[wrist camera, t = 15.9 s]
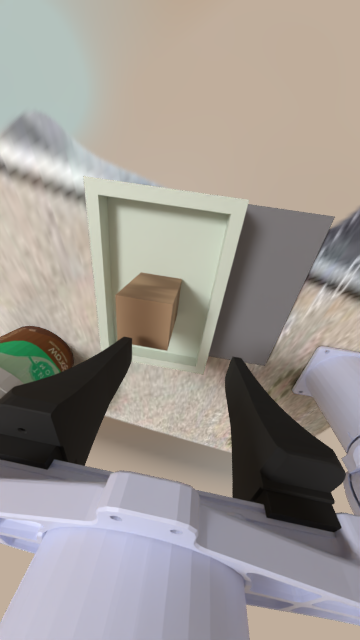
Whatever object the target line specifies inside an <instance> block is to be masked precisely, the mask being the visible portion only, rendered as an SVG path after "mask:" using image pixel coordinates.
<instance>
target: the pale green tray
mask: <svg viewBox="0 0 360 640" xmlns="http://www.w3.org/2000/svg"><path fill="white" fill-rule="evenodd" d="M83 178H84V188H85V198H86V208H87V218H88V228H89V238H90V248H91V258H92V268H93V277H94V287H95V297H96V307H97V317H98V327H99V337H100V347H101V352H102V351H103V350H105V349H106V348H108V347H109V346H111V345H112V344H114V343H115V342H117V321H116V299H115V295H116V294H117V293H118V292H119V291H120V290H122V289H123V288H124V287H125V286H126V285H127V284H128V283H130V282H131V281H132V280H133V279H134V278H135V277H136V276H137V275H139V274H140V273H141V272H142V273H148V274H154V275H161V276H167V277H173V278H179V279H182V283H181V290H180V297H179V305H178V312H177V317H176V321H175V325H174V328H173V332H172V335H171V339H170V343H169V346H168V350H167V351H166V350H160V349H154V348H149V347H143V346H137V345H132V361H131V362H135V363H141V364H146V365H152V366H158V367H163V368H169V369H174V370H180V371H185V372H191V373H197V374H202V375H203V374H204V370H205V366H206V362H207V358H208V355H209V351H210V347H211V343H212V339H213V336H214V332H215V328H216V324H217V320H218V317H219V313H220V309H221V305H222V301H223V297H224V294H225V290H226V286H227V282H228V278H229V275H230V271H231V267H232V263H233V259H234V256H235V252H236V248H237V244H238V240H239V236H240V233H241V229H242V225H243V221H244V217H245V214H246V210H247V206H248V202H249V200H245V199H239V198H232V197H225V196H218V195H211V194H204V193H196V192H190V191H183V190H176V189H169V188H162V187H155V186H148V185H141V184H134V183H127V182H121V181H114V180H107V179H100V178H93V177H86V176H83Z"/></svg>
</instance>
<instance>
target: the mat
mask: <svg viewBox="0 0 360 640" xmlns="http://www.w3.org/2000/svg"><path fill="white" fill-rule="evenodd" d="M84 189H85V188H84ZM85 199H86V198H85ZM86 209H87V208H86ZM334 218H335V217H333V216H326V215H319V214H312V213H305V212H299V211H292V210H284V209H278V208H271V207H264V206H257V205H250V204H248V206H247V210H246V214H245V217H244V221H243V225H242V229H241V233H240V236H239V240H238V244H237V248H236V252H235V256H234V259H233V263H232V267H231V271H230V275H229V278H228V282H227V286H226V290H225V294H224V297H223V301H222V305H221V309H220V313H219V317H218V320H217V324H216V328H215V332H214V336H213V339H212V343H211V347H210V351H209V355H208V356H212V357H217V358H223V359H229V360H231V359H232V356H233V357H238V358H242V360H243V361H244V362H246V363H252V364H257V365H263V366H265V364H266V362H267V360H268V358H269V356H270V354H271V352H272V350H273V347H274V345H275V343H276V341H277V339H278V337H279V335H280V333H281V330H282V328H283V326H284V324H285V322H286V320H287V318H288V316H289V313H290V311H291V309H292V307H293V305H294V303H295V301H296V299H297V296H298V294H299V292H300V290H301V288H302V286H303V284H304V282H305V279H306V277H307V275H308V273H309V271H310V269H311V267H312V265H313V262H314V260H315V258H316V256H317V254H318V252H319V250H320V248H321V245H322V243H323V241H324V239H325V237H326V235H327V233H328V231H329V228H330V226H331V224H332V222H333V220H334ZM93 278H94V277H93ZM94 288H95V287H94ZM95 298H96V297H95ZM96 308H97V307H96ZM97 318H98V317H97ZM98 328H99V327H98Z"/></svg>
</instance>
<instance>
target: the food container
mask: <svg viewBox="0 0 360 640" xmlns="http://www.w3.org/2000/svg"><path fill="white" fill-rule="evenodd" d="M73 363H74V361H73V354H72V352H71V350H70V348H69V347H68V346H67V344H66V343H65V342H64V341H63V340H62V339H61V338H60V337H58V336H57V335H55V334H54V333H52V332H50V331H48V330H46V329H43V328H40V327H35V326H25V327H21V328H18V329H16V330H14V331H12V332H10V333H8V334H6V335H3V336H1V337H0V398H2V397H3V396H4V395H5V394H6V393H7V392H8V391H10V390H11V389H12V388H13V387H14V386H18V385H22V384H26V383H29V382H33V381H36V380H40V379H43V378H46V377H49V376H52V375H55V374H57V373H60V372H62V371H65V370H67V369H70V368H72V366H73Z"/></svg>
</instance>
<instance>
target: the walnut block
mask: <svg viewBox="0 0 360 640" xmlns="http://www.w3.org/2000/svg"><path fill="white" fill-rule="evenodd" d="M181 283H182V279H179V278H173V277H167V276H161V275H154V274H148V273H142V272H141V273H140V274H139V275H137V276H136V277H135V278H134V279H133V280H132V281H131V282H130V283H128V284H127V285H126V286H125V287H124V288H123V289H122V290H120V291H119V292H118V293H117V294H116V295H115V299H116V321H117V341H118V340H119V339H121V338H122V337H129V338H132V345H137V346H143V347H149V348H154V349H160V350H166V351H167V350H168V346H169V343H170V339H171V335H172V332H173V328H174V325H175V321H176V317H177V312H178V305H179V297H180V290H181Z"/></svg>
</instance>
